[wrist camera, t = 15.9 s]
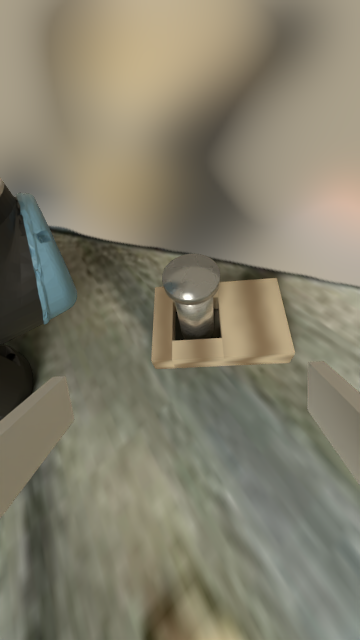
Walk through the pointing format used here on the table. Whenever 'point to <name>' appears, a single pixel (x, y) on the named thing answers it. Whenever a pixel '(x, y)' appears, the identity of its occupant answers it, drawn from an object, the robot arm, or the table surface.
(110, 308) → the table surface
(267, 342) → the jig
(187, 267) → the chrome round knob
